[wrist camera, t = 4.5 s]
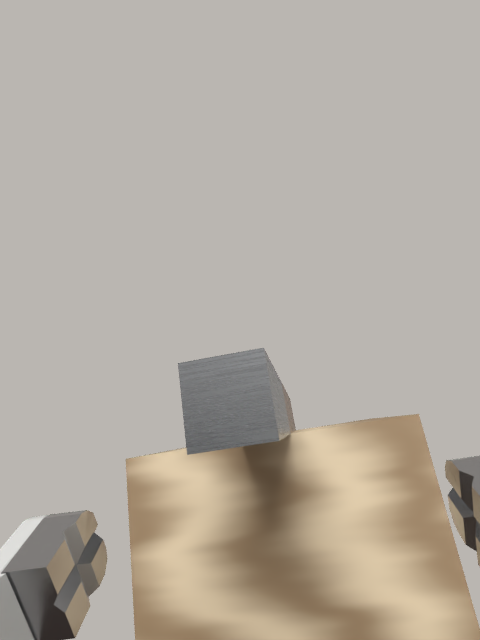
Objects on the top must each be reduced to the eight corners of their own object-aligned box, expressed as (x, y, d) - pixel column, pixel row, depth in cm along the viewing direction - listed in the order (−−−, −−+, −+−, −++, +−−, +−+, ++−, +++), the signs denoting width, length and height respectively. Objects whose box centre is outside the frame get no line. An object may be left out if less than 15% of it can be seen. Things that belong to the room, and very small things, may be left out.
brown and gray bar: (187, 454, 9) (177, 363, 10) (264, 435, 28) (259, 403, 29) (279, 441, 9) (263, 347, 10) (295, 430, 28) (289, 398, 29)
